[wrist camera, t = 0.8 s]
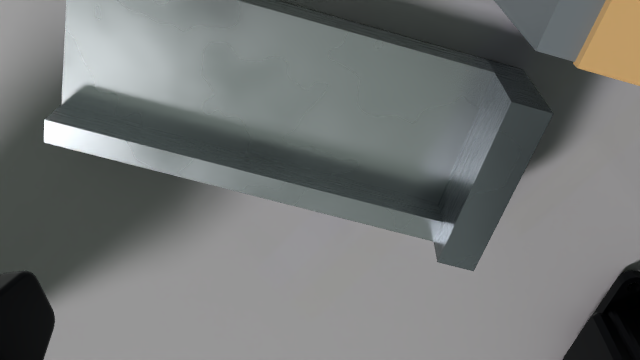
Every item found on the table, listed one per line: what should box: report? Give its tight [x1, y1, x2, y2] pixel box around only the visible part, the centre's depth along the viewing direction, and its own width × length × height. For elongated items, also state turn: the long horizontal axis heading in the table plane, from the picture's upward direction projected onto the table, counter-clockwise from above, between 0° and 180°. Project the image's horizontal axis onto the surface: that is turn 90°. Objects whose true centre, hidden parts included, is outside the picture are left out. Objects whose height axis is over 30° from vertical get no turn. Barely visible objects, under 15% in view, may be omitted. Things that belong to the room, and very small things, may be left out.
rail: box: [44, 0, 553, 271], centre depth 18 cm, size 14×6×4 cm, turn 75°
